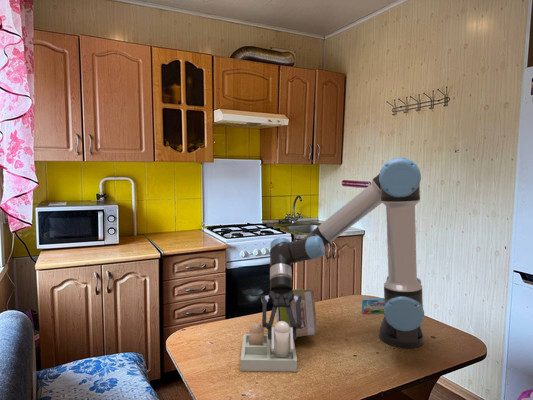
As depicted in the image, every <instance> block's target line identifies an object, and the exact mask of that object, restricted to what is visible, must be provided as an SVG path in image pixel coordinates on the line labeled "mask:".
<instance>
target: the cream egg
mask: <svg viewBox="0 0 533 400" xmlns="http://www.w3.org/2000/svg"><path fill="white" fill-rule="evenodd" d="M273 327H274V356H275V357H277V358H287V357H288V356H289V353H290V327H289V325H288V323H286V322H284V321H280V322H278V323H277V322H276V323H275V324H274V326H273Z"/></svg>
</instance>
